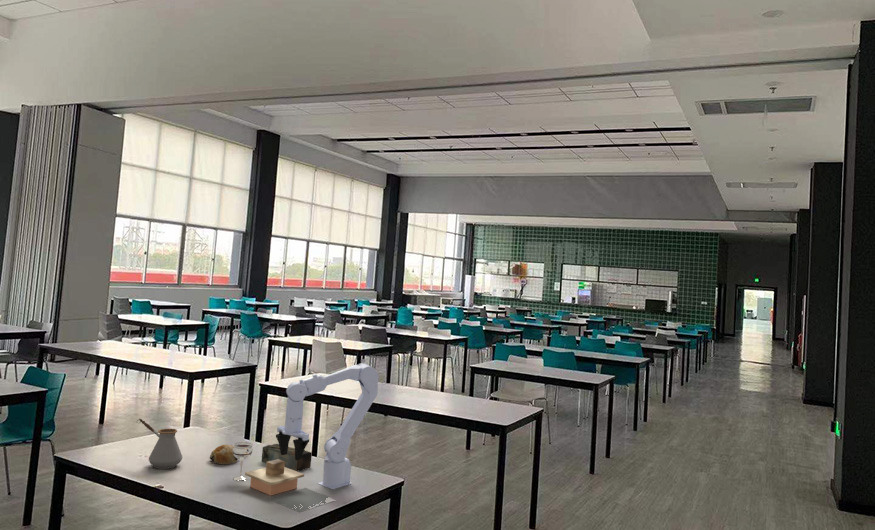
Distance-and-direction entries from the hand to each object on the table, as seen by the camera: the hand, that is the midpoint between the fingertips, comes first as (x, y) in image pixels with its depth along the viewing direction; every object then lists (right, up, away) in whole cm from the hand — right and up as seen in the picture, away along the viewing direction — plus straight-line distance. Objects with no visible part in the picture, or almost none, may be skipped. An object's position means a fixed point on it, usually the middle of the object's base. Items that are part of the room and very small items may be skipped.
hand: (290, 457), depth 219 cm
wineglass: (-19, -9, +5) cm, 22 cm away
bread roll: (-31, -9, +24) cm, 41 cm away
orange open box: (-5, -10, -3) cm, 12 cm away
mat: (+7, -11, -12) cm, 17 cm away
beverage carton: (-8, -11, +25) cm, 29 cm away
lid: (-5, -6, -3) cm, 8 cm away
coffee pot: (-54, -7, +16) cm, 57 cm away
